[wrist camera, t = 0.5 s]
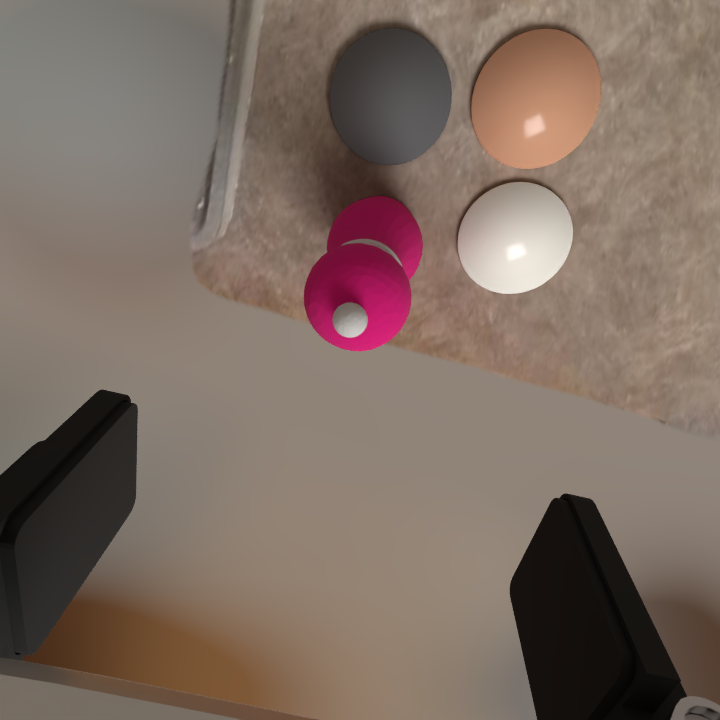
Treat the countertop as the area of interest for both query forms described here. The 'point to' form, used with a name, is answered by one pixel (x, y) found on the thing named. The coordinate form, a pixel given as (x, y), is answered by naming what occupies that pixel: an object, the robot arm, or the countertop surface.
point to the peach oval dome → (536, 98)
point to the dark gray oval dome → (390, 96)
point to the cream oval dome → (515, 237)
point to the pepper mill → (365, 275)
